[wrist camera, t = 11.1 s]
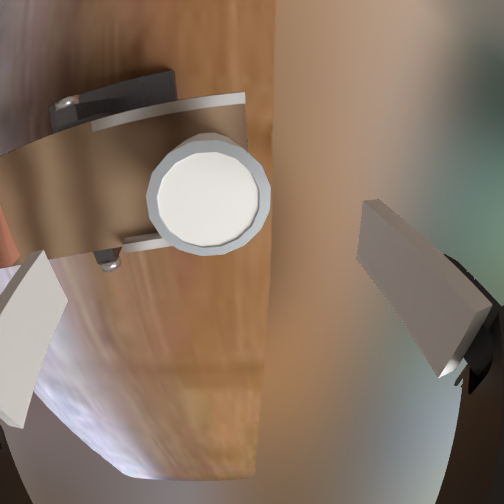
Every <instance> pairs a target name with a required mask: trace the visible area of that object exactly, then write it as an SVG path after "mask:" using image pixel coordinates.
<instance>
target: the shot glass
mask: <svg viewBox="0 0 504 504" xmlns="http://www.w3.org/2000/svg"><path fill="white" fill-rule="evenodd" d="M270 189H271V187H270V185H269V182H268V180H267V177H266V175H265V173H264V170H263V168H262V166H261V165H260V164H259V163H258V162H257V161H256V160H255V159H254V158H253V157H252V156H251V155H250V154H249V153H248V152H246V151H245V150H244V149H243V148H242V147H241V146H239V145H238V144H237V143H235V142H234V141H233V140H231V139H230V138H229V137H226V136H223V135H220V134H217V133H199V134H197V135H195V136H193V137H191V138H189V139H187V140H185V141H184V142H182V143H181V144H180V145H178V146H177V147H176V148H175V149H173V150H172V151H171V152H169V153H168V154H167V155H166V157H165V158H164V159H163V160H162V161H161V163H160V164H159V165H158V166H157V167H156V169H155V170H154V171H153V172H152V175H151V179H150V182H149V186H148V189H147V193H146V200H147V207H148V213H149V219H150V220H151V222H152V223H153V225H154V226H155V228H156V230H157V231H158V233H159V234H160V236H161V237H162V238H163V239H165V240H166V241H167V242H169V243H170V244H172V245H173V246H174V247H176V248H177V249H179V250H181V251H185V252H188V253H192V254H196V255H199V256H207V255H221V254H226V253H228V252H230V251H232V250H235V249H237V248H239V247H242V246H244V245H245V244H246V243H247V242H248V241H249V240H251V239H252V238H253V237H254V236H255V235H256V234H257V233H258V232H259V231H260V230H261V228H262V226H263V224H264V221H265V219H266V217H267V215H268V213H269V211H270Z"/></svg>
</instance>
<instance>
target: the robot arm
mask: <svg viewBox="0 0 504 504" xmlns="http://www.w3.org/2000/svg"><path fill="white" fill-rule="evenodd" d="M357 260H358V262H359V263H360V264H361V265H362V267H363V268H364V270H365V271H366V272H367V274H368V275H369V276H370V278H371V279H372V280H373V282H374V283H375V284H376V286H377V287H378V288H379V290H380V291H381V293H382V294H383V295H384V297H385V298H386V299H387V301H388V302H389V304H390V305H391V307H392V308H393V309H394V311H395V312H396V314H397V315H398V317H399V318H400V320H401V321H402V323H403V324H404V325H405V327H406V328H407V330H408V331H409V333H410V334H411V336H412V337H413V339H414V340H415V342H416V343H417V345H418V346H419V348H420V349H421V351H422V353H423V354H424V356H425V357H426V359H427V361H428V362H429V364H430V365H431V367H432V369H433V370H434V372H435V374H436V375H437V377H438V378H439V377H441V376H443V375H446V374H448V373H450V372H452V371H454V370H455V369H456V368H457V366H458V365H459V363H460V362H461V360H462V359H463V357H464V359H465V360H466V361H467V363H468V364H467V365H466V367H465V368H464V370H463V371H462V372H461V374H460V375H459V377H458V378H457V380H456V382H455V384H454V385H455V386H457V385H458V384H459V383H460V381H461V380H462V379H463V384H462V386H461V387H462V394H461V402H460V408H459V415H458V420H457V426H456V431H455V436H454V441H453V445H452V450H451V454H450V458H449V461H448V465H447V469H446V472H445V476H444V479H443V482H442V486H441V489H440V492H439V495H438V498H437V500H436V503H435V504H504V306H501V305H499V303H498V302H497V301H496V300H495V299H494V298H493V297H492V296H491V295H490V294H489V293H488V292H487V291H486V290H485V288H484V287H483V286H482V285H481V284H480V283H479V282H478V281H477V280H476V279H475V280H474V277H473V276H472V275H471V274H470V273H469V272H467V270H466V269H465V268H464V267H463V266H462V265H461V264H460V263H459V262H458V261H456V260H454V259H453V258H451V257H449V256H447V255H446V254H442V253H441V252H440V251H439V250H438V249H437V248H436V247H435V246H433V245H432V244H431V243H430V242H429V241H428V240H427V239H426V238H425V237H424V236H422V235H421V234H420V233H419V232H418V231H417V230H416V229H414V228H413V227H412V226H411V225H410V224H408V223H407V222H406V221H405V220H404V219H403V218H401V217H400V216H399V215H398V214H397V213H395V212H394V211H393V210H392V209H390V208H389V207H388V206H387V205H385V204H384V203H383V202H382V201H380V200H379V199H378V200H366V201H363V205H362V216H361V226H360V235H359V244H358V252H357ZM67 302H68V300H67V298H66V296H65V294H64V292H63V290H62V288H61V286H60V284H59V282H58V280H57V278H56V276H55V274H54V272H53V270H52V267H51V265H50V263H49V261H48V258H47V256H46V254H45V252H44V250H40V251H35V252H31V253H30V255H29V256H28V257H27V258H26V260H25V261H24V262H23V264H22V265H21V267H20V268H19V269H18V271H17V272H16V273H15V275H14V276H13V278H12V279H11V281H10V282H9V283H8V285H7V286H6V288H5V289H4V291H3V292H2V294H1V295H0V418H1V419H2V420H3V421H4V422H6V423H7V424H8V425H9V426H13V427H17V428H21V429H23V427H24V422H25V419H26V415H27V411H28V408H29V404H30V401H31V397H32V394H33V391H34V387H35V384H36V381H37V378H38V375H39V372H40V369H41V366H42V363H43V361H44V358H45V355H46V353H47V350H48V347H49V345H50V342H51V340H52V337H53V335H54V332H55V330H56V327H57V325H58V323H59V320H60V318H61V316H62V313H63V311H64V309H65V307H66V304H67ZM0 504H33V503H32V501H31V499H30V497H29V495H28V493H27V491H26V489H25V487H24V485H23V482H22V480H21V478H20V475H19V473H18V471H17V468H16V466H15V463H14V460H13V458H12V455H11V452H10V450H9V447H8V444H7V441H6V438H5V435H4V431H3V429H2V427H1V425H0Z"/></svg>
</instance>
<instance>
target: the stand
mask: <svg viewBox="0 0 504 504" xmlns="http://www.w3.org/2000/svg"><path fill="white" fill-rule="evenodd" d="M177 100H178V99H177V91H176V82H175V74H174V71H173V70H171V71H166V72H161V73H156V74H151V75H147V76H142V77H138V78H134V79H130V80H126V81H122V82H119V83H115V84H112V85H108V86H105V87H101V88H98V89H95V90H92V91H89V92H86V93H83V94H80V95H79V94H77V95H73V96H69V97H66V98H63V99H61V100H58V101H56V102H55V104H53V105H51V106H48V108H49V114H50V119H51V125H52V130H53V134H54V133H57V132H59V131H62V130H65V129H68V128H71V127H74V126H77V125H80V124H83V123H86V122H89V121H93V120H96V119H99V118H103V117H106V116H110V115H114V114H118V113H121V112H125V111H129V110H133V109H138V108H142V107H147V106H151V105H156V104H161V103H166V102H171V101H177ZM121 248H122V247H117V248H111V249H105V250H99V251H93V253H94V255H95V258H96V260H97V263H98V264H99V265H100V268H101V270H102V271H103V272H110V271H113V270H115V269H117V268H118V267H119V266H120V265H121V259H120V256H119V253H120V251H121Z"/></svg>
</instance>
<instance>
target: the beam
mask: <svg viewBox="0 0 504 504" xmlns="http://www.w3.org/2000/svg"><path fill="white" fill-rule="evenodd" d="M244 103H246V101H245V92H235V93H226V94H217V95H209V96H202V97H195V98H189V99H183V100H177V101H171V102H166V103H161V104H156V105H151V106H147V107H142V108H138V109H133V110H129V111H125V112H121V113H118V114H114V115H110V116H106V117H103V118H99V119H96V120H93V121H89V122H86V123H83V124H80V125H77V126H74V127H71V128H68V129H65V130H62V131H59V132H57V133H54V134H51V135H49V136H46V137H43V138H41V139H38V140H36V141H33V142H31V143H29V144H26V145H24V146H22V147H19V148H17V149H15V150H13V151H10V152H8V153H6V154H4V155H2V156H0V269H1V268H6V267H11V266H16V265H21V264H23V262H24V261H25V260H26V258H27V257H28V256H29V255H30V253H31V252H35V251H40V250H44V252H45V254H46V256H47V258H48V259H53V258H59V257H65V256H70V255H76V254H82V253H87V252H93V251H99V250H105V249H111V248H117V247H123V249H124V252H125V253H128V252H135V251H141V250H148V249H154V248H161V247H168V246H173V245H172V244H170V243H169V242H167V241H166V240H165V239H163V238H162V237H161V236H160V234H159V233H158V231H157V230H156V228H155V226H154V225H153V223H152V222H151V220H150V219H149V213H148V207H147V200H146V193H147V189H148V186H149V182H150V179H151V175H152V172H153V171H154V170H155V169H156V167H157V166H158V165H159V164H160V163H161V161H162V160H163V159H164V158H165V157H166V155H167V154H168V153H169V152H171V151H172V150H173V149H175V148H176V147H177V146H178V145H180V144H181V143H182V142H184V141H185V140H187V139H189V138H191V137H193V136H195V135H197V134H199V133H217V134H220V135H223V136H226V137H229V138H230V139H231V140H233V141H234V142H235V143H237V144H238V145H239V146H241V147H242V148H243V149H244V150H245V151H246V152H248V144H247V133H246V122H245V111H244Z"/></svg>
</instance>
